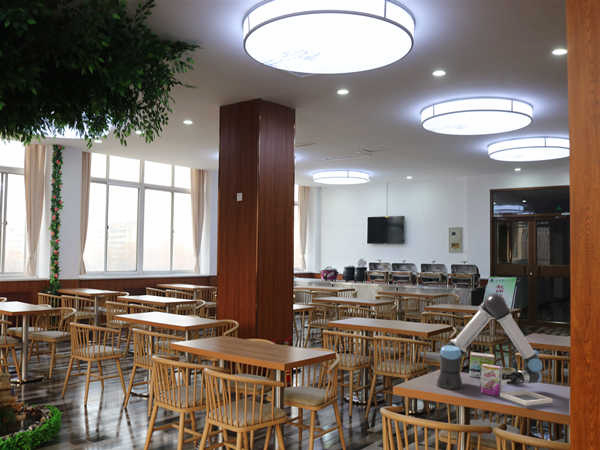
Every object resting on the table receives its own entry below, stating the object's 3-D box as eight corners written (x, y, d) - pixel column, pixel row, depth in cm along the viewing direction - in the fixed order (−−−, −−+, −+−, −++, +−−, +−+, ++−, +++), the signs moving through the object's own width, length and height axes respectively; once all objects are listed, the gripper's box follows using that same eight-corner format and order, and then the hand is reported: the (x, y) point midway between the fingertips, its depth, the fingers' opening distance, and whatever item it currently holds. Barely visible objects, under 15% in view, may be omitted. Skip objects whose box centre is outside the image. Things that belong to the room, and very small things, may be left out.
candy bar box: (479, 393, 310) (480, 364, 311) (481, 391, 314) (482, 363, 315) (499, 397, 304) (500, 368, 304) (501, 395, 308) (502, 366, 309)
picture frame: (499, 398, 300) (500, 392, 300) (525, 396, 309) (525, 390, 309) (525, 408, 284) (526, 401, 284) (552, 405, 292) (552, 398, 292)
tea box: (469, 376, 351) (470, 354, 352) (469, 373, 360) (470, 351, 361) (493, 379, 346) (494, 356, 347) (493, 376, 356) (493, 353, 357)
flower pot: (495, 380, 343) (496, 367, 343) (507, 380, 346) (508, 366, 347) (506, 384, 334) (506, 370, 335) (518, 384, 337) (518, 370, 338)
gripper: (536, 389, 307) (509, 392, 298) (502, 378, 329) (476, 381, 320) (537, 376, 307) (510, 378, 298) (503, 366, 330) (477, 368, 321)
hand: (492, 379), depth 309 cm, fingers open, 13 cm apart
